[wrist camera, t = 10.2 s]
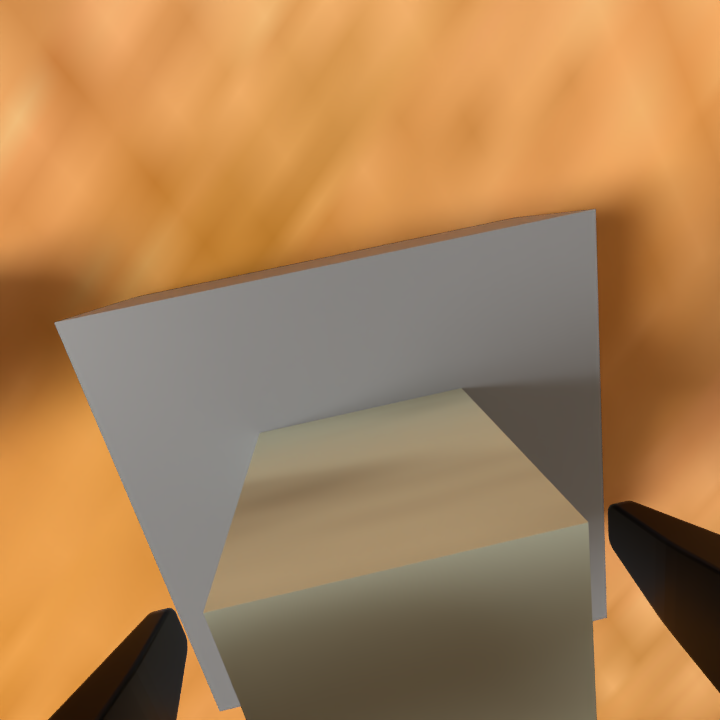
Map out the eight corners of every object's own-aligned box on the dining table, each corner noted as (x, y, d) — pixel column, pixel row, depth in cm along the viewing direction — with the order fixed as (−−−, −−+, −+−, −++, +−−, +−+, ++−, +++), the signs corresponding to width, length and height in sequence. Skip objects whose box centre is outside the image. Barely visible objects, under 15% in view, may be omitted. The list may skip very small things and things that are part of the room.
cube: (483, 552, 12) (599, 773, 7) (308, 593, 11) (298, 850, 7) (461, 387, 10) (588, 523, 5) (259, 433, 10) (203, 612, 5)
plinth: (540, 529, 17) (606, 617, 13) (243, 599, 16) (220, 711, 12) (514, 217, 13) (595, 208, 9) (134, 297, 13) (54, 322, 9)
